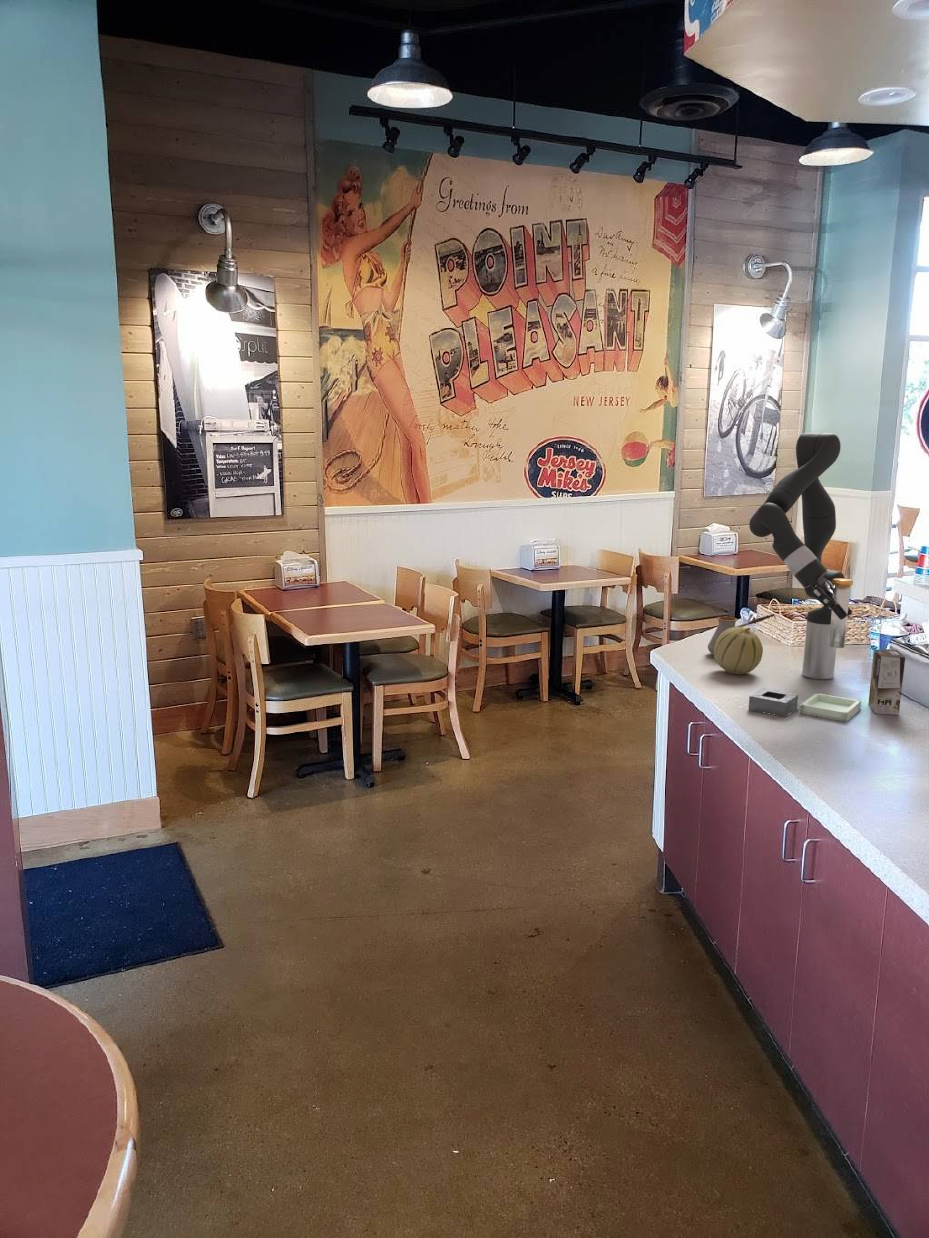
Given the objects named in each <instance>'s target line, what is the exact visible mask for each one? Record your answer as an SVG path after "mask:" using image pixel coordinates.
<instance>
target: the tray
mask: <svg viewBox="0 0 929 1238" xmlns="http://www.w3.org/2000/svg"><path fill="white" fill-rule="evenodd" d="M861 705H862V700H859V699H853V698H848V697H842V696H837V695H829V694H825V693H819V692H816V693H814V694H813V695H812V696H810V697H809V698H807V700H805V701H804V702H802V703H800V707H799V714H801V713H803V714H802V715H806V714H808V715H807V716H811V715H813V716H812V717H816V716H818V717H817V718H821V717H823V719H827V718H828V719H827V720H832V719H834V720H833V721H837V720H839V721H838V722H842V721H843V722H842V723H847V722H848V721H849V720H850V719H851V718H853V716H855V715H856V714H858V713H859V711H860V710H861V709H862V708H861V707H862V706H861Z"/></svg>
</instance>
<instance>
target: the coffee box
mask: <svg viewBox="0 0 929 1238" xmlns="http://www.w3.org/2000/svg"><path fill="white" fill-rule="evenodd" d="M905 664H906V656H905V655H904V654H902V653H901V652H900V651H899V650H897V649H879V648H877V649H873V654H872V662H871V673H870V685H869V694H868V695H869V696H868V705H869V708H871V710H872V711H873V713H875V714H879V715H880V714H882V715H883V714H884V715H891V716H898V715H900V707H901V698H902V691H903V690H902V689H903V682H904V681H903V680H904V672H905Z"/></svg>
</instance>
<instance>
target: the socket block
mask: <svg viewBox="0 0 929 1238" xmlns="http://www.w3.org/2000/svg"><path fill="white" fill-rule="evenodd" d="M748 696H749V697H748V711H751V712H754V713H755V712H757V713H760V712H765V713H770V714H769V715H771V714H775V715H774V716H776V715H779V716H778V717H781V716H783V718H786V717H788V716H789V715H790V714H791V712H792V713H793V712H794V711H796V710H797V709H798V704H799V694H798V693H791V692H787V691H781V690H776V689H770V688H765V687H762V688H760V689H759V690H756V691H754V693H752V694H751V695H748ZM765 713H764V714H765ZM789 713H790V714H789ZM788 714H789V715H788ZM785 716H786V717H785Z"/></svg>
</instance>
